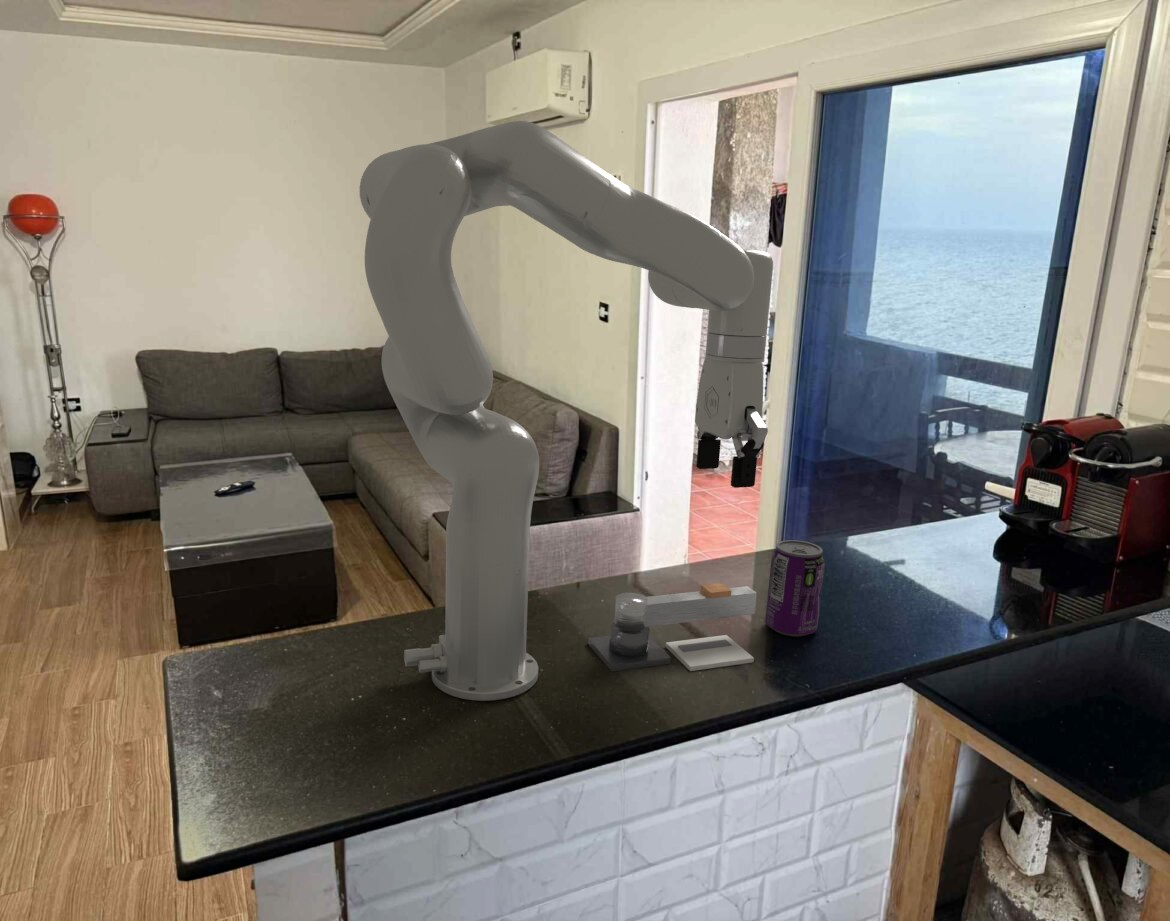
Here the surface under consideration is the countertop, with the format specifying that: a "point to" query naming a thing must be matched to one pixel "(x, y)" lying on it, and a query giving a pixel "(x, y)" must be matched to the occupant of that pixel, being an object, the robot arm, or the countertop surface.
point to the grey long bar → (683, 606)
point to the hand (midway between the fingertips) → (724, 477)
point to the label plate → (708, 652)
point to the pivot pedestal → (628, 649)
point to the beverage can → (795, 588)
